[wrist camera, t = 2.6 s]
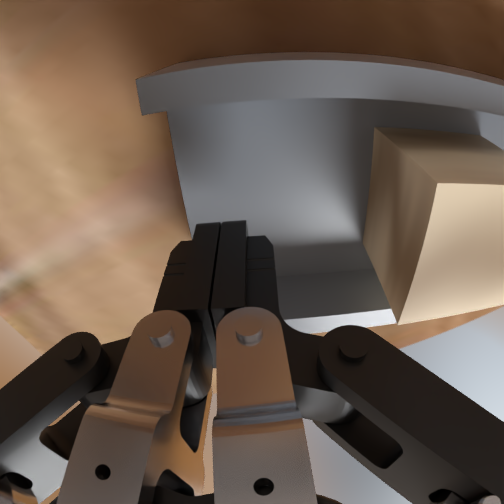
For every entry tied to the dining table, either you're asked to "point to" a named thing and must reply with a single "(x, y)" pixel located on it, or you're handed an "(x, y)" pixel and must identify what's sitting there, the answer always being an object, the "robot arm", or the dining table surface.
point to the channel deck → (308, 158)
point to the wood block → (436, 222)
